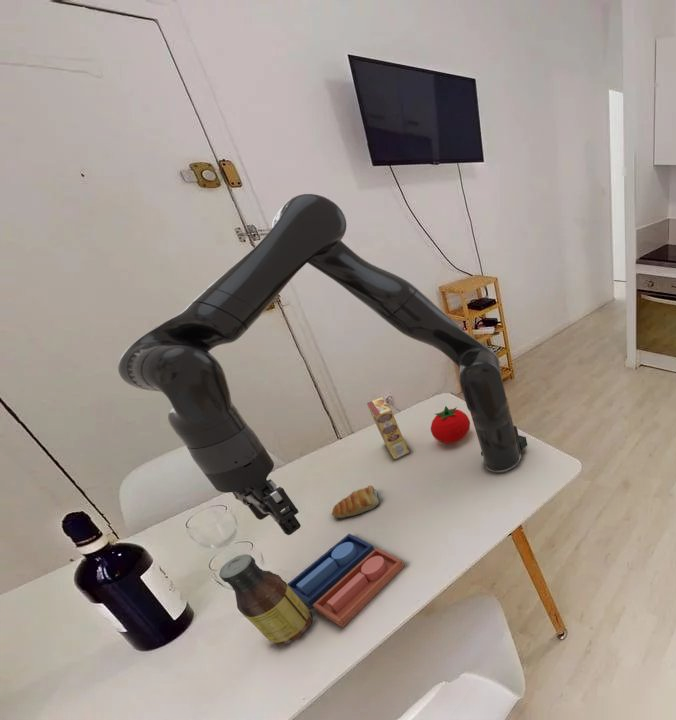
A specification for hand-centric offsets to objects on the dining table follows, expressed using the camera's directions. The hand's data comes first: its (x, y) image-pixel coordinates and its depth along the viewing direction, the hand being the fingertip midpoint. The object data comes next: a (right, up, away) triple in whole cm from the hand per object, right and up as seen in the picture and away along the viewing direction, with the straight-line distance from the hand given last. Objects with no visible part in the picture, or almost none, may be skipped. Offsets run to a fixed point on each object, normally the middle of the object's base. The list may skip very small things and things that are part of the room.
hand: (279, 523), depth 73 cm
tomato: (+10, +6, +47) cm, 49 cm away
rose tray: (+10, -16, +8) cm, 20 cm away
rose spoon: (+10, -16, +8) cm, 20 cm away
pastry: (-3, -6, +26) cm, 27 cm away
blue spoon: (+1, -14, +11) cm, 18 cm away
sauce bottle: (+1, -20, +1) cm, 20 cm away
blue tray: (+1, -14, +11) cm, 18 cm away
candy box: (-5, +4, +44) cm, 44 cm away
